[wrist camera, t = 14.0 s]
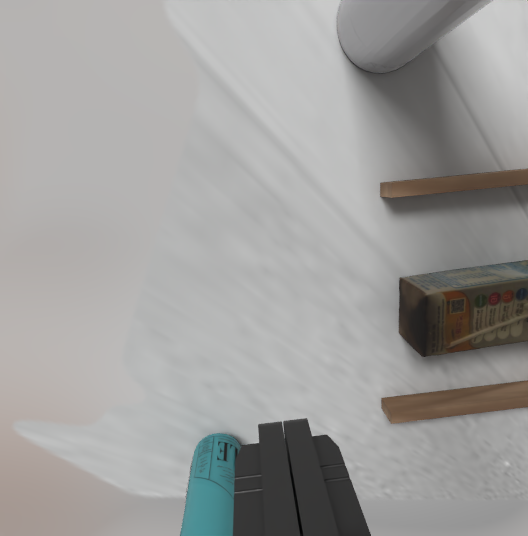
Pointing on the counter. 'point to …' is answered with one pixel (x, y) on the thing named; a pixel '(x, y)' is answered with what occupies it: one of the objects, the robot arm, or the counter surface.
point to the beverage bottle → (211, 488)
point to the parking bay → (462, 398)
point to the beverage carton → (465, 308)
